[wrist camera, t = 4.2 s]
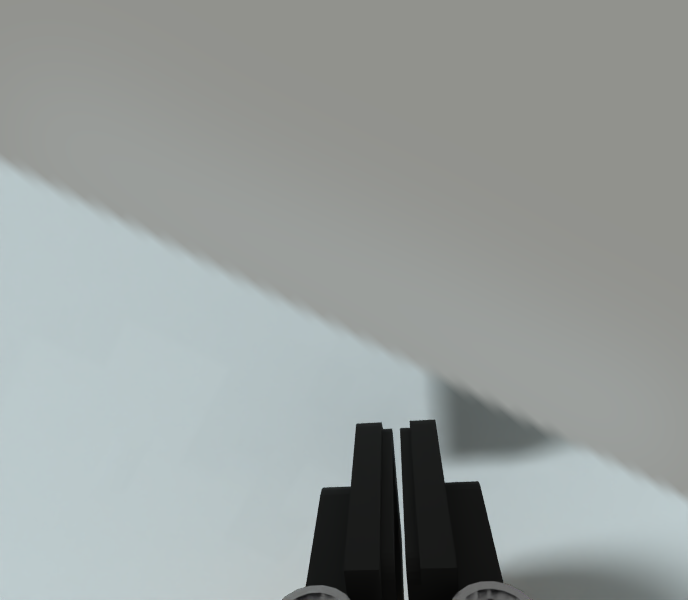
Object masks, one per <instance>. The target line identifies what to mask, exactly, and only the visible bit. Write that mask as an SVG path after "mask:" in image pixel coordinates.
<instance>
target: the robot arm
mask: <svg viewBox="0 0 688 600" xmlns="http://www.w3.org/2000/svg"><path fill="white" fill-rule="evenodd" d="M400 438H401V461H402V485H403V508H404V532H405V555H406V572H407V585H408V597H409V600H532V599H531V598H530V597H529V596H527V595H526V594H525V593H524V592H523V591H521V590H519V589H517V588H515V587H513V586H511V585H509V584H504V583H503V580H502V575H501V571H500V567H499V563H498V559H497V554H496V550H495V546H494V542H493V538H492V533H491V529H490V525H489V521H488V517H487V512H486V508H485V504H484V500H483V496H482V491H481V487H480V484H479V482H478V481H476V482H451V483H445V482H444V476H443V469H442V462H441V456H440V449H439V442H438V435H437V429H436V422H435V420H419V421H410V428H400ZM282 600H404V588H403V560H402V538H401V524H400V513H399V501H398V490H397V478H396V467H395V455H394V443H393V432H392V429H383V427H382V422H381V423H361V424H356V433H355V445H354V456H353V468H352V479H351V487H329V488H323V489H322V491H321V495H320V501H319V507H318V514H317V520H316V526H315V532H314V539H313V545H312V551H311V557H310V564H309V570H308V576H307V582H306V587H304V588H300V589H297V590H295V591H294V592H292V593H290V594H288V595H287V596H285V597H284V598H283V599H282Z"/></svg>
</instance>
